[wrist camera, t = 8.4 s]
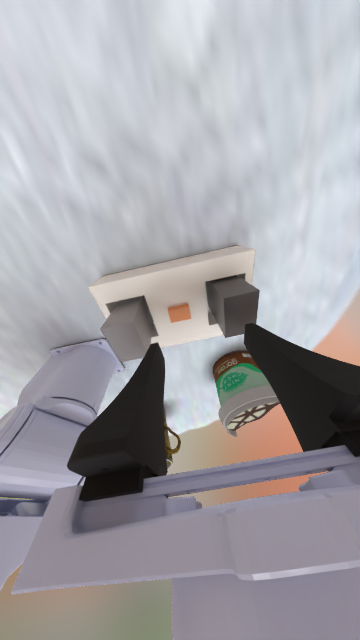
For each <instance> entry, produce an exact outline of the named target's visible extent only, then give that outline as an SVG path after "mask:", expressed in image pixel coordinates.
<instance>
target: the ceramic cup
mask: <svg viewBox="0 0 360 640" xmlns="http://www.w3.org/2000/svg"><path fill="white" fill-rule="evenodd" d="M167 429H168V430H169V432H170V433H172V434H173V435H174V436H176V437H177V439H178V445H177V447H176V448H175V449H173V450H172V449H171V447H170V441H169V436H168V430H167ZM164 430H165V446H166V460H167V469H168V468H170V467H171V466H172V464H173V461H172V454H175V453H177V452H178V451H179V449H180V444H181V441H180V438H179V436H178V435H177V434H176V433H174V432H173V431H171V429H170V428H169V427H167V423H166V416H165V410H164Z"/></svg>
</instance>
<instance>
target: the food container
mask: <svg viewBox="0 0 360 640" xmlns="http://www.w3.org/2000/svg"><path fill="white" fill-rule="evenodd" d="M213 374H214V378H215V383H216V387H217V392H218V396H219V401H220V405H221V408H220V409H219V418H220V420H221V422H222V424H223V426H224V428H225V429H226V430H227V432H228V433H229V434H230V435H232V436H236V437H237V434H236V429H238V428H240V427H241V426H243V425H245V424H246V423H249V422H252V421H255V420H258V419H260V418H262V417H263V416H264V415H265V414H267V413H268V412H269V411H270V410H271V409H272V408H273V407H275V406H276V405H278V404H280V402H279V400H278V398H277V396H276V394H275V392H274V391H273V389H272V387H271V385H270V384H269V382H268V380H267V379H266V377H265V376H264V374H263V373H262V371H261V370H260V369H259V367H258V366H257V364H256V363H255V361H254V360H253V358H252V357H251V355H250V354H249V352H248V351H236V352H232V353H229V354H226V355H224V356H223V357H221V358H220V359H219V360H218V361H217V362H216V363H215V365H214V367H213Z"/></svg>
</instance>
